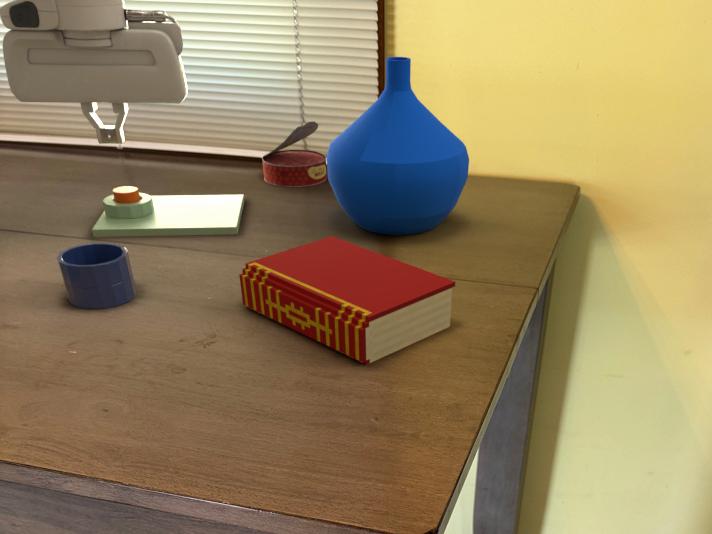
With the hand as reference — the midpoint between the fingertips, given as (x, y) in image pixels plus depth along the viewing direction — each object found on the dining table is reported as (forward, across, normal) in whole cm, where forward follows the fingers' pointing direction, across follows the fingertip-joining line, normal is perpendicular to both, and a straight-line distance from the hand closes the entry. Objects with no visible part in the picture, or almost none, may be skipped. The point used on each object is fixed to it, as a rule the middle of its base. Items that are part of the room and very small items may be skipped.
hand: (112, 142), depth 95 cm
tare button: (+7, 0, 0) cm, 7 cm away
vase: (+9, -36, +3) cm, 37 cm away
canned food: (+10, -22, -20) cm, 31 cm away
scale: (+10, -6, 0) cm, 11 cm away
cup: (+10, -2, +26) cm, 28 cm away
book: (+10, -28, +33) cm, 44 cm away
